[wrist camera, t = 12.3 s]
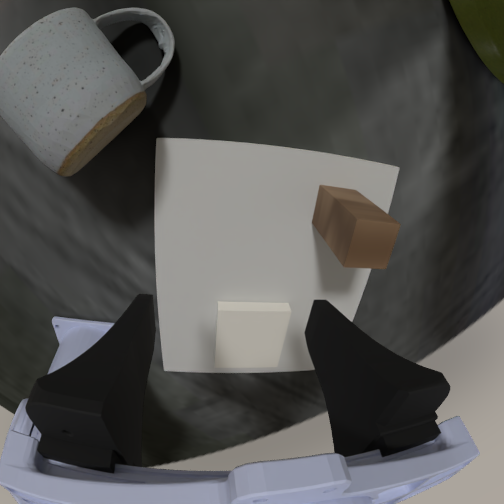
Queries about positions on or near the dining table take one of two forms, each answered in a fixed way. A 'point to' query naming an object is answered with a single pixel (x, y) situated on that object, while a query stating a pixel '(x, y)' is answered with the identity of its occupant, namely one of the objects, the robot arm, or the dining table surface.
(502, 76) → the plant pot
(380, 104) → the dining table surface
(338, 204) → the wooden block
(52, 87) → the ceramic mug
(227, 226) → the mat
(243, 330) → the tile
